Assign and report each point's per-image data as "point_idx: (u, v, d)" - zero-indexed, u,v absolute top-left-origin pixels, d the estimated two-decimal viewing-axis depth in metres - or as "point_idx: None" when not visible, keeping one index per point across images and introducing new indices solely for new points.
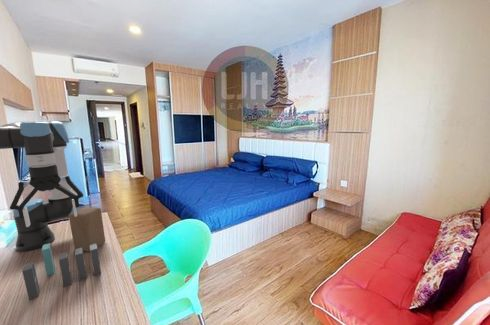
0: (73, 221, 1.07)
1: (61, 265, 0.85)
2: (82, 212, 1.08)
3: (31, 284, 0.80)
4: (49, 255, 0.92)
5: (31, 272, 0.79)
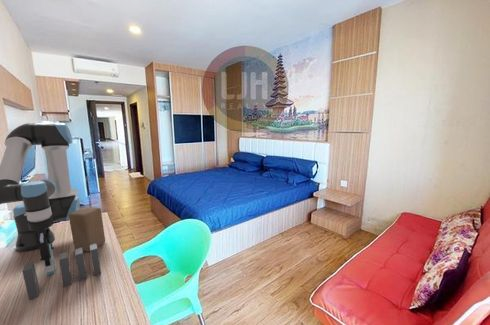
0: (73, 221, 1.07)
1: (61, 265, 0.85)
2: (82, 212, 1.08)
3: (31, 284, 0.80)
4: None
5: (31, 272, 0.79)
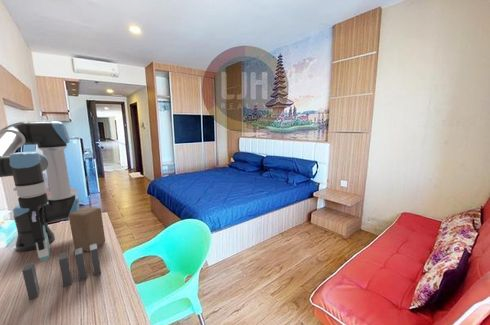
0: (73, 221, 1.07)
1: (61, 265, 0.85)
2: (82, 212, 1.08)
3: (31, 284, 0.80)
4: None
5: (31, 272, 0.79)
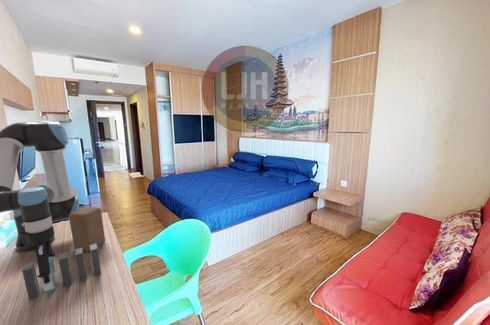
0: (73, 221, 1.07)
1: (61, 265, 0.85)
2: (82, 212, 1.08)
3: (31, 284, 0.80)
4: (50, 270, 0.83)
5: (31, 272, 0.79)
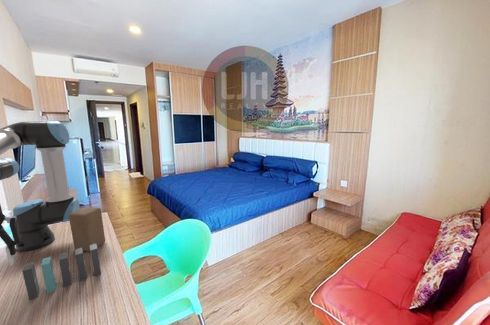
0: (73, 221, 1.07)
1: (61, 265, 0.85)
2: (82, 212, 1.08)
3: (31, 284, 0.80)
4: (50, 270, 0.83)
5: (31, 272, 0.79)
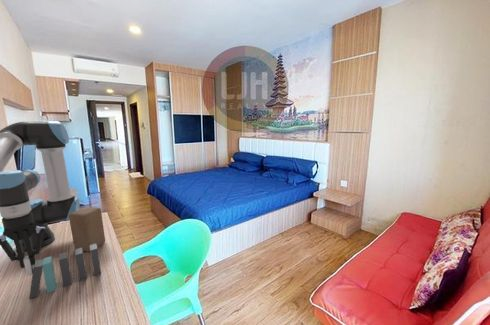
0: (73, 221, 1.07)
1: (61, 265, 0.85)
2: (82, 212, 1.08)
3: (37, 282, 0.81)
4: (50, 270, 0.83)
5: (41, 270, 0.81)
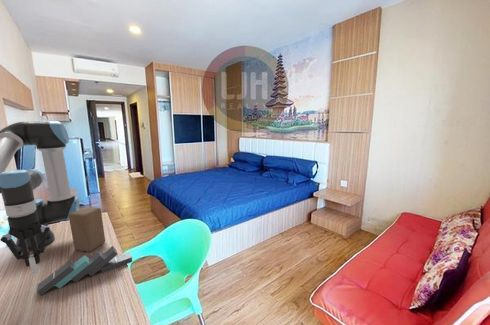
0: (73, 221, 1.07)
1: (95, 261, 0.92)
2: (82, 212, 1.08)
3: (56, 281, 0.84)
4: (81, 269, 0.89)
5: (69, 272, 0.87)
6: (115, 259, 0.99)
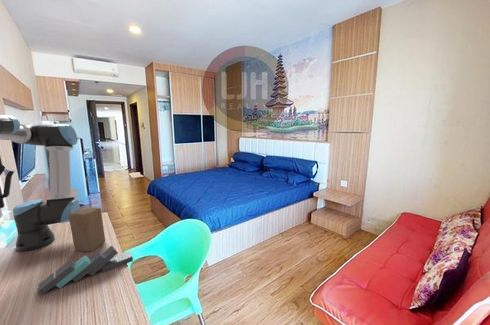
0: (73, 221, 1.07)
1: (95, 261, 0.92)
2: (82, 212, 1.08)
3: (57, 281, 0.85)
4: (81, 269, 0.89)
5: (70, 272, 0.87)
6: (116, 258, 1.00)
